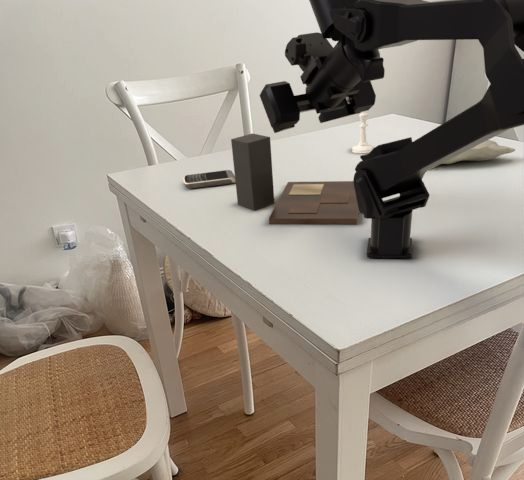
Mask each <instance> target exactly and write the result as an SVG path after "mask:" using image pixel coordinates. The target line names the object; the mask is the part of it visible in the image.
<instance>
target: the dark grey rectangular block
mask: <svg viewBox="0 0 524 480" xmlns="http://www.w3.org/2000/svg"><path fill="white" fill-rule="evenodd" d="M230 141H231V151H232V162H233V171H234V172H233V173H234V176H235V191H236V199H237V200H236V201H237V205H238V206H240V207H242V208H243V207H244V208H247V209H249V210H252V211H256V210H259V209H262V208H265V207H268V206H270V205H273V204H275V193H274V191H275V190H274V177H273V176H274V175H273V161H272V146H271V145H272V144H271V136H266V135H262V134H258V133H253V132H252V133H249V134H246V135H242V136H238V137H234V138H231V139H230Z"/></svg>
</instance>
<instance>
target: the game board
mask: <svg viewBox="0 0 524 480" xmlns="http://www.w3.org/2000/svg"><path fill="white" fill-rule="evenodd" d="M359 213H360V212H359V209H358V203H357V198H356V193H355V188H354V182H353V180H341V181H340V180H338V181H335V180H334V181H332V180H331V181H329V180H328V181H326V180H325V181H287V182H286V184H285V187H284V189H283V191H282V193H281V194H280V196H279V198H278V200H277V202H276V204H275V206H274V208H273V209H272V211H271V214H270V216H269V217H268V224H269V225H358V220H359Z"/></svg>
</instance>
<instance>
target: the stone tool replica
mask: <svg viewBox="0 0 524 480" xmlns="http://www.w3.org/2000/svg"><path fill="white" fill-rule="evenodd" d="M515 151H516V149H515V148H514V147H509V146H506V145H500V144H498V143H497V142H496V141H494V140H491V139H489V140H487V141H485V142H483V143H481V144H479V145H477V146H475V147H473V148H471V149H469V150H467V151H465V152H463V153H461V154H459V155H457V156H455V157H453V158H451V159H449V160H447V161H445V162H443V163H441V164H440V165H450V164H454V163H457V162H462V161H471V162H475V161H477V162H480V161H488V160H489V161H490V160H493V159H495V158H498V157H501V156H503V155H508V154H511V153H514V152H515Z"/></svg>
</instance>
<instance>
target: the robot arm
mask: <svg viewBox="0 0 524 480" xmlns="http://www.w3.org/2000/svg"><path fill="white" fill-rule="evenodd" d="M308 1H309V4H310V7H311V9H312V11H313V12H312V13H313V15H314V17H315V20H316V23H317V26H318V28H319V31H320V32H311V33H302V34H298V35H297V36H296V37H291V39H290V40H289V41H288V42H287V44H286V46H285V50H284V57H285V58H286V60H287V61H288V63H289V64H290V66H292V67H293V66H298V67H299V69H300V70H301V71H302V74H301V75H300V80H301V83H302V85H305V93H301V94H294V91H293V89H292V86H291V83H290V82H289V81H286V80H283V81H278V82H271V83H267V84H265V85H264V87H262V89H261V91H260V94H259V98H260V100H261V103H262V105H263V106H262V107H263V109H264V111H265V115H266V116H267V119H268V122H269V124H270V128H272V130H273V133H274V134H277V133H280V132H283V131H287V130H289V129H293V128H295V127H296V125H297V124H298V123H299V122H300V120H301V113H302V114H303V113H306V112H311V111H315V112H316V113H315V114H317V115H318V114H319V115H318V117H317V118H318V121H319V123H320V124H323V123H327V122H331V121H334V120H339V119H343V118H346V117H349V116H354V115H358V114H360V113H363V111H365V112H367V111H370V109H371V108H373V107H374V106H375V105H376V99H377V95H376V92H375V90H374V87H373V84H372V82H373V81H377V80H382V79H384V78H385V67H384V61H385V60H384V58H383V57H382V56H381V53H380V50H382V49H383V50H384V49H389V48H394V47H402V46H405V45H408V44H411V43H415V42H417V41H455V40H456V41H458V40H459V41H461V40H463V41H464V40H466V41H467V40H478V42H479V44H480V46H481V47H482V49H483V62H484V63H483V64H484V73H485V77H486V79H487V80H488V82H489V83H490V84H489V86H488V88H487V89H486V90H485V93H484V95H483V96H482V98H481V99H480V100H479V101H478V102H477V103H475V104H473V105H471V106H470V107H468V108H466V109H465V110H463V111H462V112H459V113H458V114H456V115H455V116H453V117H451V118H450V119H448V120H447V121H445V122H443V123H442V124H440V125H438V126H436V127H435V128H434V129H431V130H430V131H428V132H427V133H425V134H423V135H422V136H420V137H419V138H417V139H414V141H413V137H411V136H410V137H405V138H402V139H397V140H394V141H390V142H385V143H381V144H378V145H377V146H375V147H373V150H372V151H371V152H369V153H364V154H361V155H359V158H360V160H361V161H358V163H357V164H356V165H355V167H354V171H355V172H354V175H353V180H352V181H353V182H354V188H355V193H356V198H357V203H358V209H359V213H360V214H361V215H363V218H365V219H366V220H368V219H369V220H370V237H368V240H367V248H366V249H367V250H366V258H371V259H374V258H375V259H412V258H413V255H414V254H413V238H412V237H411V232H412V221H413V211H414V210H417V209H422V208H426V206H427V203H428V201H429V198H430V193H429V191H428V189H427V187H426V185H425V183H424V181H423V178H424V176H425V174H426V173H427V172H428V171H430V170H431V169H434V168H436V167H438V166H439V165H442V164H441V163H443V162H445V161H447V160H449V159H451V158H453V157H455V156H457V155H459V154H461V153H463V152H465V151H467V150H469V149H471V148H473V147H475V146H477V145H479V144H481V143H483V142H485V141H487V140H491V139H493V138H494V137H496V136H499V135H501V134H502V133H504V132H507V131H508V130H511V129H514V128H519V127H522V126H524V58H523V57H522V56H521V54H520V52H519V51H518V49H520V50H521V52H523V53H524V0H435V1H428V0H308ZM329 39H331V40H332V41H333V42H337V43H336V44H335V45H332V44H331V43H330V41H329ZM333 46H334V47H333ZM516 47H517V48H518V49H517V48H516ZM395 195H399V196H396V197H393V196H395ZM389 197H392V198H389ZM386 198H389V199H386ZM384 199H386V200H384Z"/></svg>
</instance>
